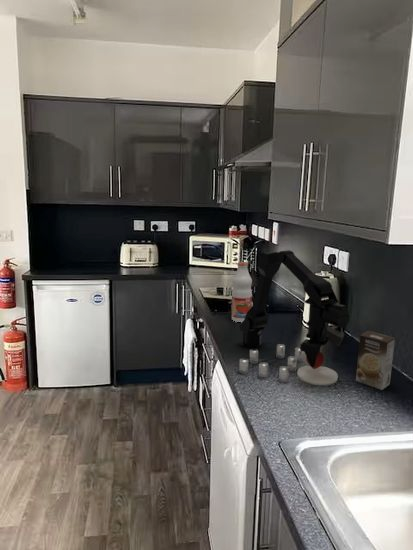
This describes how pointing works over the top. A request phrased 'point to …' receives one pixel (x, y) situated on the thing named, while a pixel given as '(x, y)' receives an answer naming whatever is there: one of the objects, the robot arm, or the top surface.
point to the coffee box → (375, 359)
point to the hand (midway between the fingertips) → (314, 363)
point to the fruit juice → (241, 293)
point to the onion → (318, 360)
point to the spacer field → (264, 366)
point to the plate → (317, 375)
